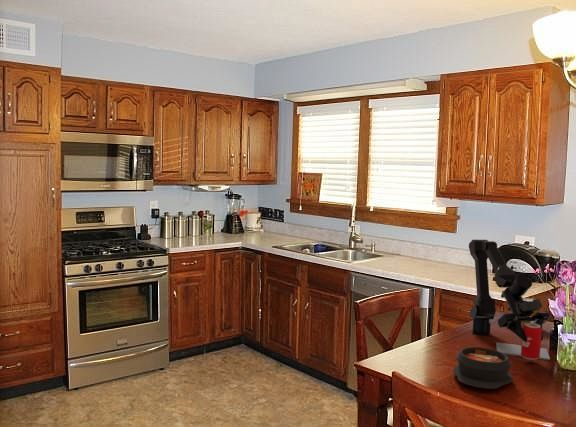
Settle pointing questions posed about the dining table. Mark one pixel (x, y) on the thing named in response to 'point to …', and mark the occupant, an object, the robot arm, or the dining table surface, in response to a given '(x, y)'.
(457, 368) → the casserole
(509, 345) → the slate mat
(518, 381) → the dining table surface
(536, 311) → the disposable coffee cup
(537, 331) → the beverage can
